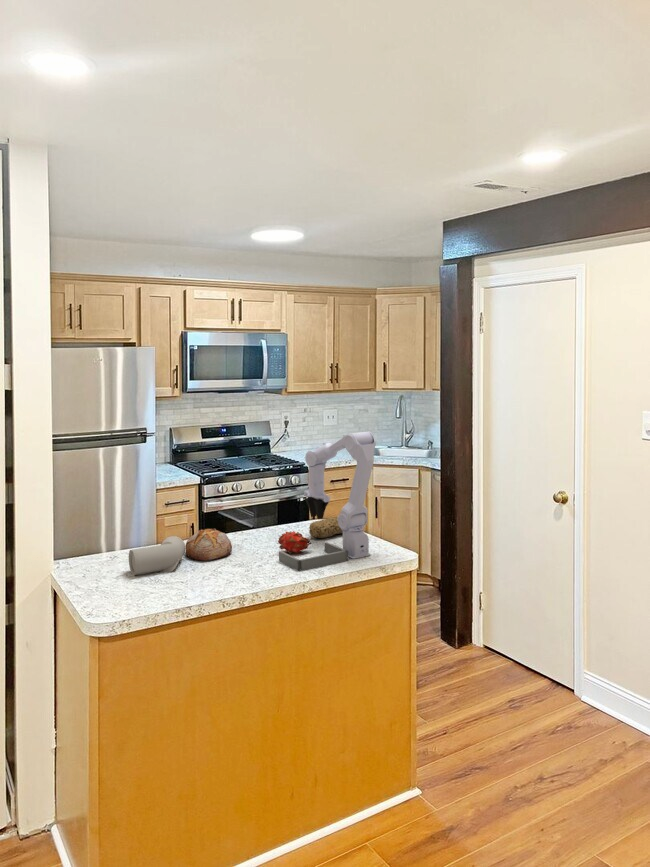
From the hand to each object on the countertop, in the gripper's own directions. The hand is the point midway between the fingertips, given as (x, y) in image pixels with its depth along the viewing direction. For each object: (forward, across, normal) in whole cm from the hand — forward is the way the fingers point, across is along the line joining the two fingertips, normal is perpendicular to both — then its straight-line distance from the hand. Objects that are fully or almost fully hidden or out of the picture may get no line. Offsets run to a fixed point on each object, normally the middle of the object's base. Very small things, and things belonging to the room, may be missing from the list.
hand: (316, 517), depth 264 cm
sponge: (+10, -5, +10) cm, 15 cm away
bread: (+10, -10, -40) cm, 42 cm away
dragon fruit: (+10, +6, -14) cm, 18 cm away
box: (+9, +19, -14) cm, 25 cm away
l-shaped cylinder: (+10, -5, -61) cm, 62 cm away
